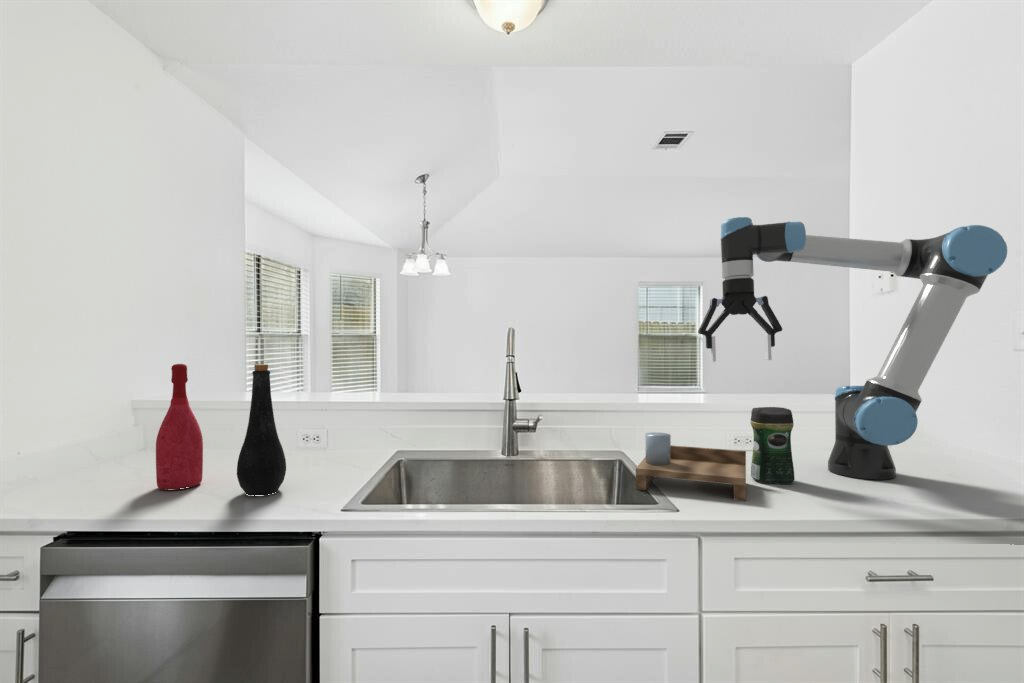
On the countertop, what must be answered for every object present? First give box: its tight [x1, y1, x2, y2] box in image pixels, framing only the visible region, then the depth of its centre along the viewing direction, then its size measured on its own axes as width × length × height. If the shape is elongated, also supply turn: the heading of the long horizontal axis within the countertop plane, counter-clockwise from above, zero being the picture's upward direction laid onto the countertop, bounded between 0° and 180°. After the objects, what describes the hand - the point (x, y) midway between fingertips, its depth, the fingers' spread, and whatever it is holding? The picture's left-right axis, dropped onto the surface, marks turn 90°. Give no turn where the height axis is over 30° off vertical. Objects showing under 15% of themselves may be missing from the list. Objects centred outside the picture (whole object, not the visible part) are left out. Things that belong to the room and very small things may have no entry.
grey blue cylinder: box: [645, 431, 672, 465], centre depth 134 cm, size 6×6×7 cm
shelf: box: [635, 445, 747, 502], centre depth 130 cm, size 24×16×8 cm, turn 66°
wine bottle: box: [155, 363, 204, 491], centre depth 132 cm, size 10×10×30 cm
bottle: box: [236, 363, 287, 496], centre depth 126 cm, size 11×11×30 cm
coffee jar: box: [750, 406, 796, 485], centre depth 135 cm, size 10×8×19 cm
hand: (740, 360), depth 139 cm, fingers open, 13 cm apart
